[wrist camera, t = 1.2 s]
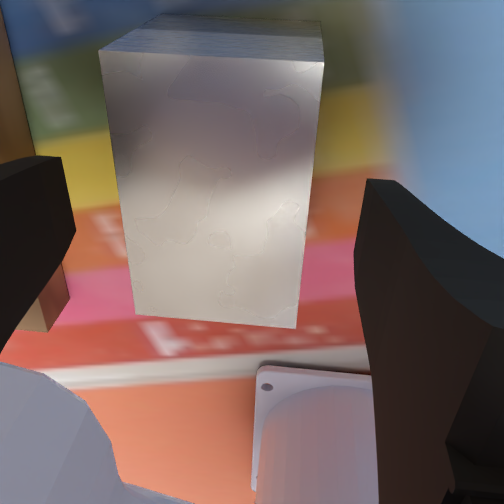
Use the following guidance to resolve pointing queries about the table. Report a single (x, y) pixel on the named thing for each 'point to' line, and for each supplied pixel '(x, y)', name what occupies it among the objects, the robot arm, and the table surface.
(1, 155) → the walnut stand
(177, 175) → the block
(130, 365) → the table surface
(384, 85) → the table surface
